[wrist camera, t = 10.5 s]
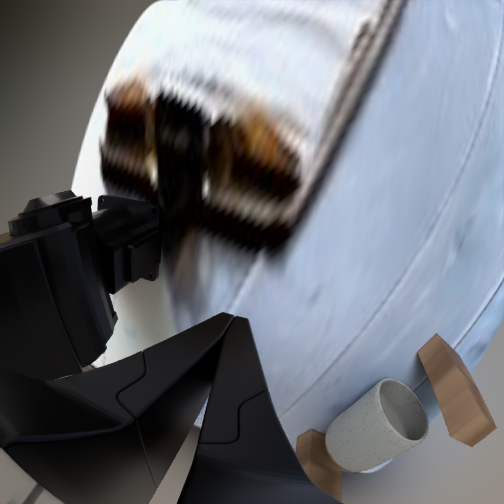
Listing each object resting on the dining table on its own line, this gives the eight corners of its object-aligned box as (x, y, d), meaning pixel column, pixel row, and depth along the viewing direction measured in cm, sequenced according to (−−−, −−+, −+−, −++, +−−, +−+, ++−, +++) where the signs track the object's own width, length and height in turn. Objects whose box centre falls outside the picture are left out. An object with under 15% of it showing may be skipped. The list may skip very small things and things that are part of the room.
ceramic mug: (319, 414, 25) (317, 474, 18) (371, 366, 22) (385, 433, 15) (386, 434, 25) (393, 484, 18) (435, 394, 22) (454, 446, 15)
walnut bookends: (297, 436, 27) (287, 508, 17) (436, 333, 20) (479, 414, 10) (326, 449, 27) (323, 515, 18) (459, 355, 20) (496, 427, 10)
